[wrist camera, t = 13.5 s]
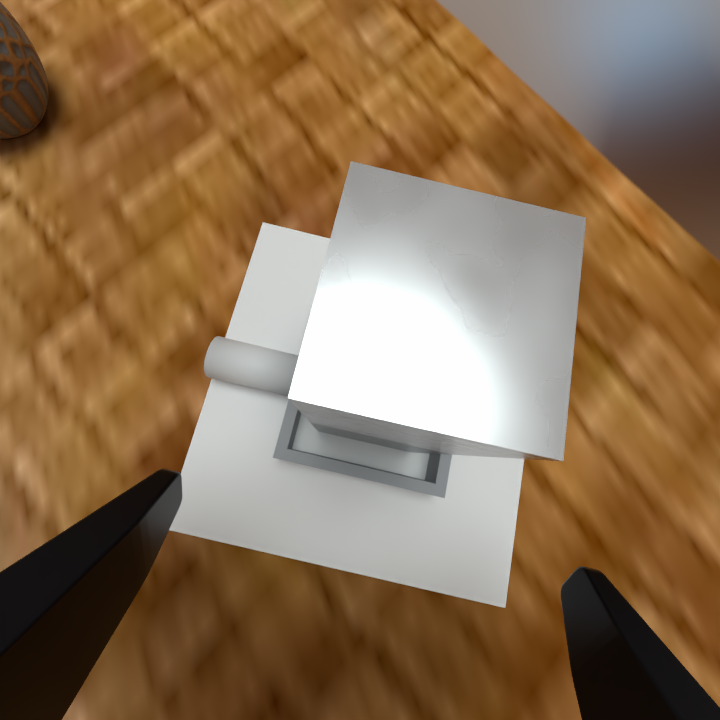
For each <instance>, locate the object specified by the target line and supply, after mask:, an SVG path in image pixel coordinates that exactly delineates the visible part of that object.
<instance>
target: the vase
mask: <svg viewBox="0 0 720 720" xmlns="http://www.w3.org/2000/svg"><path fill="white" fill-rule="evenodd" d="M47 104H48V82H47V78H46V74H45V71H44V68H43V66H42V63H41V61H40V58H39V56H38V54H37V52H36V50H35V48H34V47H33V45H32V43H31V42H30V40H29V39H28V37H27V35H26V34H25V32H24V31H23V30H22V28H21V27H20V25H19V24H18V23H17V21H16V20H15V19H14V17H13V16H12V15H11V14H10V12H9V11H8V10H7V9H6V8H5V7H4V6H3V5H2V3H1V2H0V139H9V138H15V137H19V136H22V135H24V134H26V133H28V132H30V131H32V130H33V129H34V128H35V127H36V126H37V125H38V124H39V123H40V122H41V120H42V119H43V117H44V114H45V112H46V108H47Z"/></svg>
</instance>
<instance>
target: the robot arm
mask: <svg viewBox="0 0 720 720" xmlns="http://www.w3.org/2000/svg"><path fill="white" fill-rule="evenodd" d="M181 502H182V477H181V474H180V473H179V472H177V471H173V470H168V469H160V470H158V471H156V472H155V473H153V474H152V475H150V476H149V477H147V478H146V479H144V480H143V481H141V482H139V483H138V484H136V485H135V486H133V487H132V488H130V489H129V490H127V491H125V492H124V493H122V494H121V495H119V496H118V497H116V498H115V499H113V500H111V501H110V502H108V503H107V504H105V505H104V506H102V507H101V508H99V509H98V510H96V511H94V512H93V513H91V514H90V515H88V516H87V517H85V518H84V519H82V520H80V521H79V522H77V523H76V524H74V525H73V526H71V527H70V528H68V529H67V530H65V531H63V532H62V533H60V534H59V535H57V536H56V537H54V538H53V539H51V540H49V541H48V542H46V543H45V544H43V545H42V546H40V547H39V548H37V549H36V550H34V551H32V552H31V553H29V554H28V555H26V556H25V557H23V558H22V559H20V560H18V561H17V562H15V563H14V564H12V565H11V566H9V567H8V568H6V569H5V570H3V571H1V572H0V720H62V718H63V717H64V715H65V713H66V712H67V710H68V708H69V707H70V705H71V703H72V702H73V700H74V698H75V697H76V695H77V693H78V692H79V690H80V688H81V687H82V685H83V683H84V681H85V680H86V678H87V676H88V675H89V673H90V671H91V670H92V668H93V666H94V665H95V663H96V661H97V660H98V658H99V656H100V655H101V653H102V651H103V650H104V648H105V646H106V645H107V643H108V641H109V640H110V638H111V636H112V635H113V633H114V631H115V630H116V628H117V626H118V625H119V623H120V621H121V620H122V618H123V616H124V614H125V613H126V611H127V609H128V608H129V606H130V604H131V603H132V601H133V599H134V598H135V596H136V594H137V593H138V591H139V589H140V588H141V586H142V584H143V582H144V581H145V579H146V577H147V575H148V573H149V571H150V569H151V567H152V565H153V563H154V561H155V559H156V556H157V554H158V552H159V550H160V548H161V546H162V544H163V542H164V539H165V537H166V535H167V533H168V531H169V529H170V527H171V524H172V522H173V520H174V518H175V516H176V514H177V512H178V510H179V507H180V505H181ZM561 602H562V609H563V616H564V623H565V631H566V638H567V645H568V653H569V660H570V666H571V672H572V677H573V682H574V687H575V691H576V695H577V700H578V704H579V708H580V713H581V717H582V720H720V708H719V706H718V705H717V704H716V703H715V702H714V701H713V699H712V698H711V697H710V696H709V695H708V694H707V693H706V691H705V690H704V689H703V688H702V687H701V686H700V685H699V683H698V682H697V681H696V680H695V679H694V678H693V676H692V675H691V674H690V673H689V672H688V671H687V670H686V668H685V667H684V666H683V665H682V664H681V663H680V661H679V660H678V659H677V658H676V657H675V656H674V655H673V653H672V652H671V651H670V650H669V649H668V648H667V646H666V645H665V644H664V643H663V642H662V641H661V640H660V638H659V637H658V636H657V635H656V634H655V633H654V631H653V630H652V629H651V628H650V627H649V626H648V625H647V623H646V622H645V621H644V620H643V619H642V618H641V616H640V615H639V614H638V613H637V612H636V611H635V610H634V608H633V607H632V606H631V605H630V604H629V603H628V602H627V600H626V599H625V598H624V597H623V596H622V595H621V593H620V592H619V591H618V590H617V589H616V588H615V587H614V585H613V584H612V583H611V582H610V581H609V580H608V578H607V577H606V576H605V575H604V574H603V573H602V572H601V571H599V570H596V569H593V568H588V567H584V566H581V567H578V568H577V569H576V570H575V571H574V572H573V573H572V575H571V576H570V577H569V578H568V579H567V580H566V581H565V582H564V584H563V585H562V588H561Z"/></svg>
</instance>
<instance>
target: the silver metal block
mask: <svg viewBox="0 0 720 720" xmlns="http://www.w3.org/2000/svg"><path fill="white" fill-rule="evenodd" d="M585 223H586V218H585V217H580V216H576V215H572V214H568V213H564V212H560V211H556V210H551V209H547V208H543V207H539V206H535V205H531V204H526V203H522V202H518V201H514V200H510V199H506V198H502V197H497V196H493V195H489V194H485V193H481V192H477V191H473V190H468V189H464V188H460V187H456V186H452V185H448V184H443V183H439V182H435V181H431V180H427V179H423V178H419V177H414V176H410V175H406V174H402V173H398V172H394V171H390V170H385V169H381V168H377V167H373V166H369V165H365V164H360V163H356V162H352V161H351V163H350V167H349V171H348V174H347V178H346V182H345V186H344V189H343V193H342V197H341V201H340V204H339V208H338V212H337V216H336V219H335V223H334V227H333V231H332V234H331V238H330V242H329V246H328V249H327V253H326V257H325V261H324V264H323V268H322V272H321V276H320V279H319V283H318V287H317V291H316V294H315V298H314V302H313V306H312V309H311V313H310V317H309V321H308V324H307V328H306V332H305V336H304V339H303V343H302V347H301V351H300V354H299V358H298V362H297V366H296V369H295V373H294V377H293V381H292V384H291V388H290V392H289V396H288V399H289V400H290V401H291V402H292V403H293V404H294V405H295V406H296V408H297V409H298V410H299V411H300V412H301V413H302V414H303V415H304V416H305V418H306V419H307V420H308V421H309V422H310V423H311V424H312V425H313V426H314V428H315V429H316V430H317V431H319V432H323V433H327V434H332V435H336V436H340V437H345V438H349V439H354V440H358V441H362V442H367V443H371V444H375V445H380V446H384V447H389V448H393V449H397V450H402V451H406V452H414V453H431V454H448V455H465V456H482V457H499V458H517V459H534V460H551V461H563V457H564V447H565V436H566V425H567V415H568V404H569V393H570V383H571V372H572V362H573V351H574V340H575V330H576V319H577V308H578V298H579V287H580V276H581V266H582V255H583V244H584V234H585Z"/></svg>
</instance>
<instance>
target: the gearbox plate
mask: <svg viewBox="0 0 720 720" xmlns="http://www.w3.org/2000/svg"><path fill="white" fill-rule="evenodd" d="M329 242H330V239H329V238H325V237H321V236H317V235H312V234H308V233H304V232H300V231H296V230H292V229H288V228H284V227H280V226H276V225H272V224H268V223H263V224H262V227H261V230H260V233H259V236H258V239H257V242H256V245H255V248H254V251H253V254H252V257H251V260H250V263H249V266H248V270H247V273H246V276H245V279H244V282H243V285H242V288H241V291H240V294H239V297H238V300H237V303H236V306H235V309H234V312H233V316H232V319H231V322H230V325H229V328H228V331H227V334H226V337H225V338H224V337H219V336H217V337H215V338H214V339H213V340H212V342H211V344H210V346H209V348H208V350H207V353H206V357H205V362H204V372H205V375H206V377H209V378H212V380H211V383H210V386H209V389H208V392H207V395H206V398H205V401H204V404H203V408H202V411H201V414H200V417H199V420H198V423H197V426H196V429H195V432H194V435H193V438H192V441H191V444H190V447H189V450H188V454H187V457H186V460H185V463H184V466H183V469H182V472H181V477H182V502H181V505H180V507H179V510H178V512H177V514H176V516H175V518H174V520H173V522H172V524H171V527H170V529H169V530H171V531H175V532H179V533H184V534H188V535H192V536H197V537H201V538H205V539H210V540H214V541H218V542H222V543H227V544H231V545H235V546H240V547H244V548H248V549H253V550H257V551H261V552H266V553H270V554H274V555H279V556H283V557H287V558H292V559H296V560H300V561H304V562H309V563H313V564H317V565H322V566H326V567H330V568H335V569H339V570H343V571H348V572H352V573H356V574H361V575H365V576H369V577H373V578H378V579H382V580H386V581H391V582H395V583H399V584H404V585H408V586H412V587H417V588H421V589H425V590H430V591H434V592H438V593H443V594H447V595H451V596H455V597H460V598H464V599H468V600H473V601H477V602H481V603H486V604H490V605H494V606H499V607H503V608H505V607H506V599H507V591H508V583H509V575H510V567H511V559H512V551H513V543H514V535H515V527H516V519H517V511H518V503H519V495H520V487H521V479H522V471H523V463H524V459H517V458H499V457H482V456H465V455H448V454H431V453H414V452H406V451H402V450H397V449H393V448H389V447H384V446H380V445H375V444H371V443H367V442H362V441H358V440H354V439H349V438H345V437H340V436H336V435H332V434H327V433H323V432H319V431H317V430H316V429H315V428H314V426H313V425H312V424H311V423H310V422H309V421H308V420H307V419H306V418H305V416H304V415H303V414H302V413H301V412H300V411H299V410H298V409H297V408H296V406H295V405H294V404H293V403H292V402H291V401H290V400H289V399H288V396H289V392H290V388H291V384H292V381H293V377H294V373H295V369H296V366H297V362H298V358H299V354H300V351H301V347H302V343H303V339H304V336H305V332H306V328H307V324H308V321H309V317H310V313H311V309H312V306H313V302H314V298H315V294H316V291H317V287H318V283H319V279H320V276H321V272H322V268H323V264H324V261H325V257H326V253H327V249H328V246H329Z"/></svg>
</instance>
